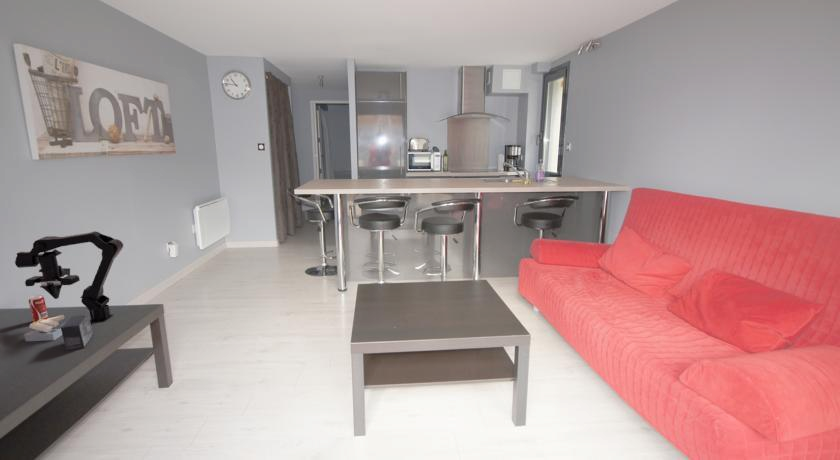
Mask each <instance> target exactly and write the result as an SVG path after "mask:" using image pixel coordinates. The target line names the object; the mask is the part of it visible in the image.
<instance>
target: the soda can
mask: <svg viewBox="0 0 840 460" xmlns="http://www.w3.org/2000/svg"><path fill="white" fill-rule="evenodd" d="M28 305H29V308H30V313H31V317H32V321H33V322H37V321H38V320H40V319H44V320H46V319H48V318H50V317H49V314H48V308H47V304H46V300H45V297H44V296H43V294H35V295H32V296H29V297H28ZM33 322H32V323H33Z"/></svg>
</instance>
